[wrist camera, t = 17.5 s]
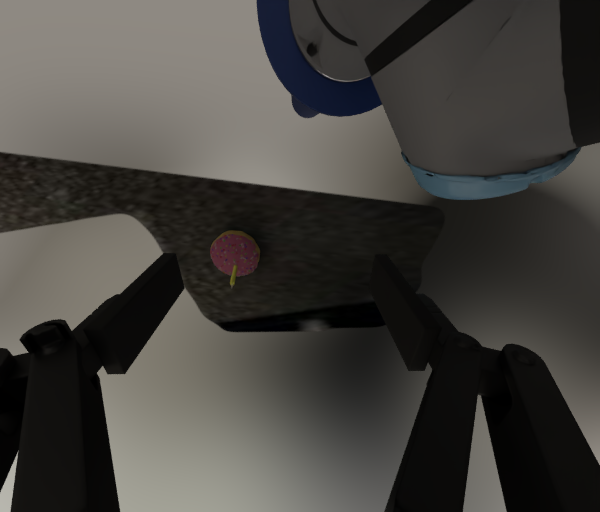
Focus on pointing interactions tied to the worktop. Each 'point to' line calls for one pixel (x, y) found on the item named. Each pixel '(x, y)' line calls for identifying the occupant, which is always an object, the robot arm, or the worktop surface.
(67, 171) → the worktop surface
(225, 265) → the cupcake
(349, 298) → the worktop surface
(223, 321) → the worktop surface
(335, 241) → the worktop surface
